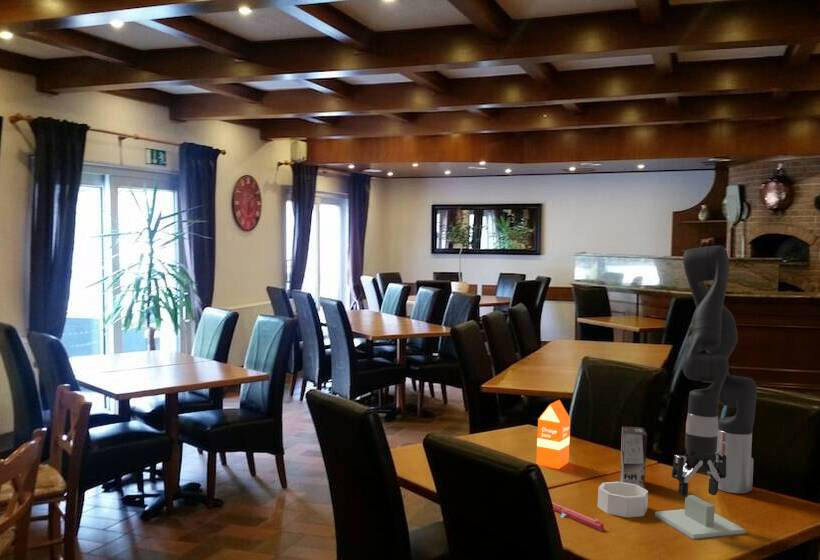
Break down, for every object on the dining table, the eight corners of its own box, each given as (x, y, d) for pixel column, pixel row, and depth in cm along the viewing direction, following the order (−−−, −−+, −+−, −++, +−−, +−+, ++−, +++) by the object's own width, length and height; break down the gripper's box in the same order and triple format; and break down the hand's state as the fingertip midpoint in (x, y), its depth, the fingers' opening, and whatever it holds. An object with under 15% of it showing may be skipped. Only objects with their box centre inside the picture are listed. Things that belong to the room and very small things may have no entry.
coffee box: (645, 490, 208) (647, 434, 208) (622, 487, 210) (624, 433, 209) (641, 480, 217) (644, 427, 217) (619, 478, 219) (621, 425, 218)
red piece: (595, 536, 177) (607, 527, 179) (593, 529, 176) (606, 519, 179) (526, 505, 196) (538, 497, 199) (524, 499, 196) (536, 490, 198)
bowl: (628, 500, 200) (629, 480, 199) (655, 516, 188) (656, 495, 188) (590, 503, 196) (591, 483, 196) (615, 519, 185) (615, 498, 184)
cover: (703, 511, 192) (704, 488, 191) (744, 533, 177) (746, 509, 177) (654, 515, 187) (656, 492, 187) (693, 538, 173) (694, 514, 173)
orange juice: (569, 462, 233) (571, 401, 232) (559, 469, 226) (561, 405, 225) (546, 457, 237) (548, 397, 236) (535, 464, 230) (538, 402, 229)
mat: (703, 511, 192) (703, 510, 192) (747, 535, 177) (747, 533, 177) (652, 516, 188) (652, 514, 188) (692, 541, 172) (692, 539, 172)
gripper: (715, 427, 187) (711, 489, 188) (668, 429, 183) (664, 492, 184) (735, 434, 180) (732, 499, 180) (687, 436, 176) (683, 502, 176)
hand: (697, 495), depth 182 cm, fingers open, 8 cm apart
